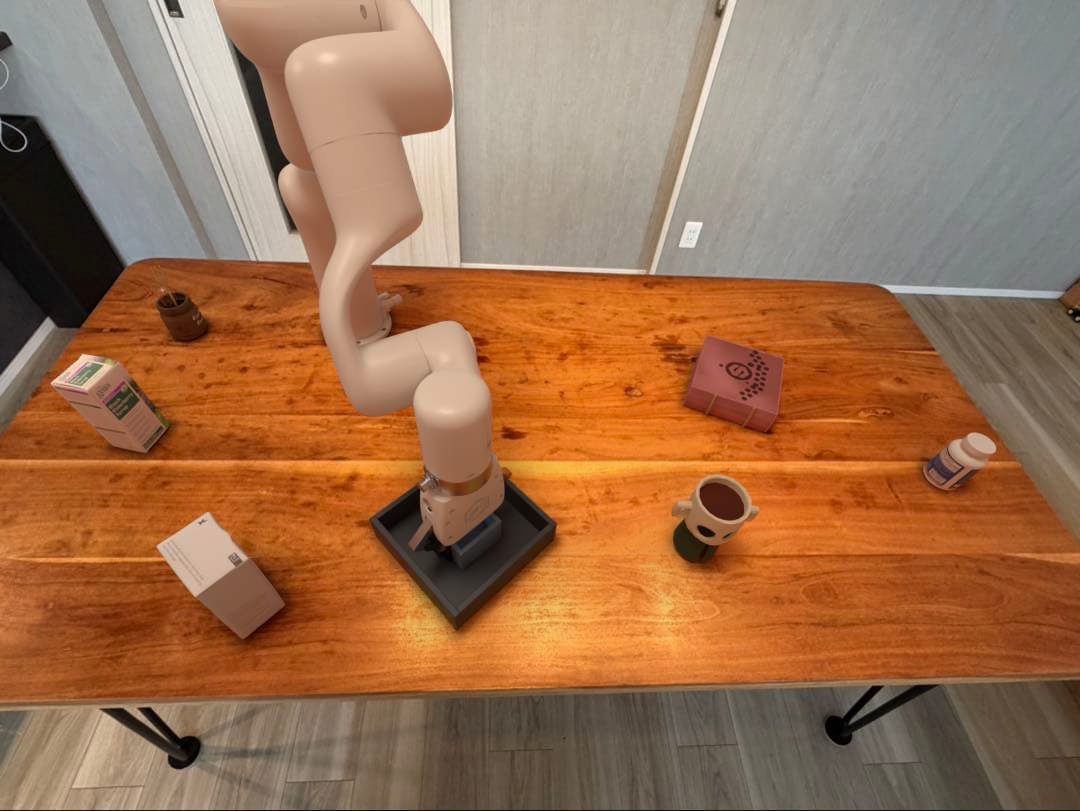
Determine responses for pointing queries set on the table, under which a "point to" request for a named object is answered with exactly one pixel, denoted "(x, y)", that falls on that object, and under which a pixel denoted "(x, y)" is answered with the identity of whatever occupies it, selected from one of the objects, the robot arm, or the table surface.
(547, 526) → the large bin
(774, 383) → the book
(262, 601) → the cosmetic box
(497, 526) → the small bin
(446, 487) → the robot arm
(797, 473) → the table surface
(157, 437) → the syrup box
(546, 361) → the table surface
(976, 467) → the pill bottle
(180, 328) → the utensil holder
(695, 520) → the character mug
